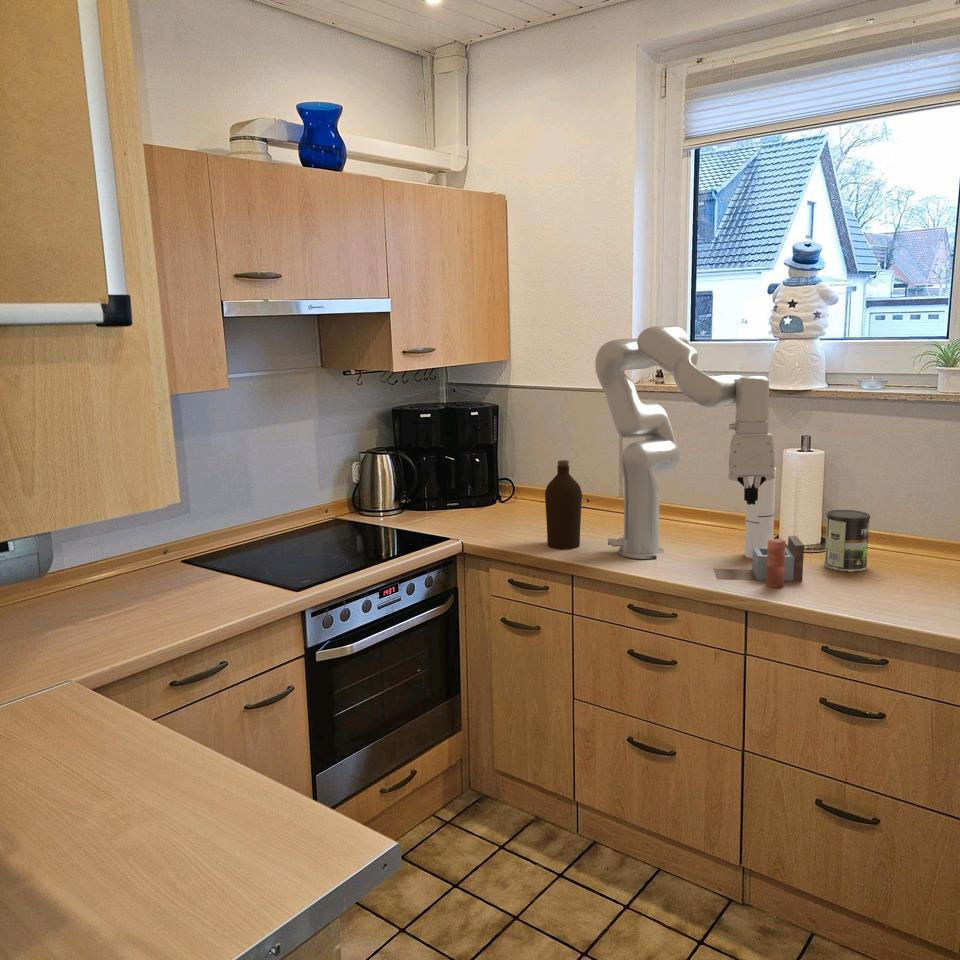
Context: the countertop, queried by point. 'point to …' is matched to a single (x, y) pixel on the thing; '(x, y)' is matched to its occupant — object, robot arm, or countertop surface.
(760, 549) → the socket block
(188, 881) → the countertop surface
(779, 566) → the dowel
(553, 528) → the olive oil
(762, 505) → the cylindrical container
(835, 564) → the coffee can
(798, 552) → the rail
